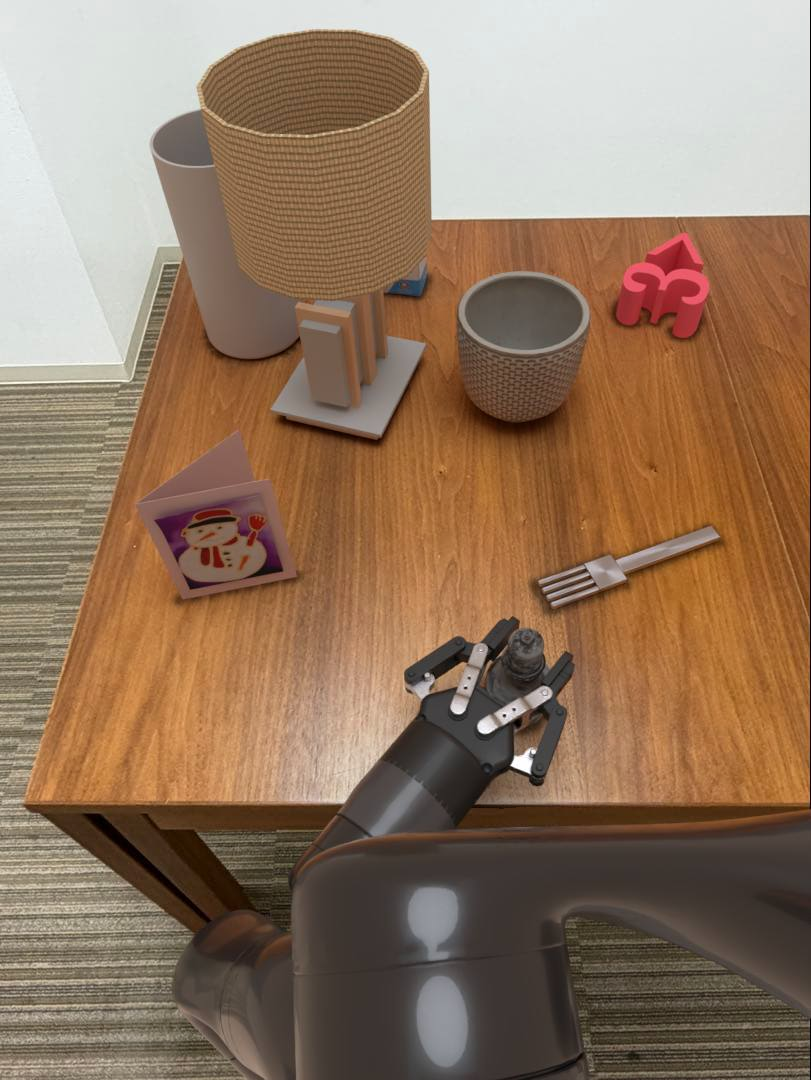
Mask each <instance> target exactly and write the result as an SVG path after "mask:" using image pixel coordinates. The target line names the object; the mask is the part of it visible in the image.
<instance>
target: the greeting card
mask: <svg viewBox="0 0 811 1080" xmlns="http://www.w3.org/2000/svg"><path fill="white" fill-rule="evenodd" d="M275 494H276V493H275V491H274V486H273V483H272V480H271V478H266V479H261V480H255V476H254V474H253V470H252V467H251V463H250V460H249V455H248V454H247V449H246V446H245V443H244V440H243V436H242V434H241V430H240V428H238V429H237V430H235V431H234V432H233V433H231V434H230V435H229V436H227V437H226V438H224V439H223V440H221V441H220V442H219V443H217V444H216V445H215V446H213V447H212V448H211V449H209V450H207V452H205V453H203V454H202V455H201V456H199V457H198V458H196V459H195V460H193V461H192V462H191V463H189V464H188V465H187V466H185V467H184V468H183V469H181V470H180V471H178V472H177V473H176V474H174V475H173V476H171V477H170V478H169V479H167V480H166V481H164V482H163V483H161V484H159V486H158V487H156V488H155V489H153V490H152V491H151V492H149V493H148V494H146V495H145V496H143V497H142V498H141V499H140V500H137V501H136V502H135V503H134V506H135V508H136V510H137V512H138V514H139V515H140V519H141V520H142V522H143V524H144V525H145V528H146V530H147V532H148V534H149V536H150V537H151V540H152V542H153V544H154V545H155V547H156V550H157V552H158V554H159V556H160V558H161V560H162V561H163V564H164V565H165V568H166V570H167V571H168V574H169V576H170V577H171V579H172V582H173V583H174V585H175V587H176V589H177V592H178V594H179V595H180V598H181V599H182V600H189V599H193V598H198V597H204V596H208V595H214V594H218V593H224V592H229V591H233V590H238V589H244V588H247V587H248V588H249V587H253V586H257V585H263V584H264V585H265V584H268V583H272V582H279V581H283V580H288V579H293V578H294V579H295V578H297V577H298V575H297V571H296V568H295V564H294V560H293V557H292V553H291V550H290V545H289V542H288V539H287V535H286V532H285V528H284V524H283V520H282V517H281V511H280V509H279V506H278V502H277V498H276V495H275Z"/></svg>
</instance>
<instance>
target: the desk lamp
mask: <svg viewBox="0 0 811 1080" xmlns="http://www.w3.org/2000/svg"><path fill="white" fill-rule="evenodd" d="M195 88H196V92H197V98H198V102H199V106H200V109H201V111H202V115H203V119H204V123H205V128H206V132H207V136H208V140H209V144H210V148H211V152H212V156H213V161H214V165H215V169H216V173H217V177H218V181H219V185H220V189H221V194H222V198H223V202H224V206H225V210H226V214H227V218H228V222H229V227H230V231H231V235H232V239H233V243H234V247H235V251H236V255H237V260H238V264H239V268H240V269H241V270H242V271H243V272H244V273H245V274H246V275H247V276H248V277H250V278H251V279H252V280H253V281H254V282H255V283H256V284H257V285H258V286H259V287H261V288H264V289H267V290H270V291H272V292H275V293H278V294H281V295H284V296H286V297H289V298H292V299H301V300H305V301H306V300H307V301H310V300H311V302H312V304H311V303H307V302H303V301H302V302H298V303H297V305H296V306H295V312H296V318H297V323H298V329H299V334H300V336H299V339H300V344H301V349H302V355H303V357H302V358H301V359H300V361H299V363H298V364H297V366H296V368H295V369H294V371H293V372H292V374H291V376H290V378H289V379H288V380H287V382H286V383H285V386H284V387H283V388H282V390H281V392H280V393H279V395H278V397H276V399H275V401H274V403H273V404H272V406H271V408H270V413H271V414H276V415H279V416H282V417H283V416H284V417H285V419H286V420H287V421H288V420H289V421H294V422H298V423H301V424H306V425H310V426H315V427H319V428H323V429H327V430H332V431H337V432H340V433H345V434H350V435H353V436H359V437H362V438H367V439H370V440H374V441H378V439H381V438H382V437H383V434H384V432H385V431H386V429H387V427H388V425H389V422H390V421H391V419H392V417H393V414H394V413H395V410H396V409H397V407H398V405H399V403H400V401H401V399H402V397H403V395H404V393H405V390H406V389H407V387H408V385H409V383H410V381H411V379H412V377H413V375H414V372H415V371H416V369H417V367H418V364H419V363H420V361H421V359H422V357H423V354H424V353H425V350H426V349H427V346H428V344H427V342H423V341H421V342H420V341H417V340H411V339H407V338H401V337H397V336H391V335H387V334H388V333H387V322H386V309H385V308H386V307H385V297H384V296H385V295H384V294H385V293H383V288H385V287H387V286H389V285H391V284H393V283H395V282H397V281H399V280H401V279H403V278H405V277H407V276H408V275H409V274H410V273H411V272H412V271H413V270H414V269H415V267H416V266H417V265H418V264H419V263H420V262H421V261H422V260H423V259H424V258H425V257H426V258H427V256H428V253H429V252H428V251H429V248H430V243H431V238H432V233H433V228H432V227H433V224H432V220H433V219H432V171H431V170H432V169H431V168H432V167H431V165H432V164H431V163H432V162H431V161H432V160H431V112H430V110H431V107H430V105H431V104H430V70H429V68H428V67H427V64H426V63H425V61H424V59H423V58H422V57H421V55H420V53H419V52H418V51H417V50H416V49H414V48H412V47H410V46H408V45H406V44H404V43H403V42H401V41H399V40H397V39H395V38H393V37H391V36H387V35H381V34H377V33H372V32H368V31H363V30H357V29H334V28H333V29H331V28H330V29H328V28H327V29H326V28H322V29H321V28H313V29H307V30H301V31H300V30H299V31H294V32H286V33H280V34H273V35H270V36H268V37H267V36H266V37H265V38H262V39H259V40H255V41H253V42H250V43H248V44H244V45H242V46H238V47H236V48H234V49H233V50H231V51H230V52H228V53H227V54H225V55H224V56H222V57H220V58H219V59H218V60H216V61H214V62H213V63H211V64H210V65H209V66H208V67H207V69H206V70H205V72H204V74H203V75H202V76H201V78H200V80H199V81H198V83H197V85H196V87H195Z"/></svg>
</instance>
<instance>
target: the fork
mask: <svg viewBox="0 0 811 1080" xmlns="http://www.w3.org/2000/svg"><path fill="white" fill-rule="evenodd" d="M720 539H721V536H720V535H719V534H718V532H717V531H716V529H714V527H713V526H712V525H709V526H706V527H703V528H700V529H698V530H695V531H692V532H689V533H687V534H684V535H681V536H679V537H676V538H672V539H669V540H666V541H665V542H662V543H659V544H656V545H653V546H650V547H648V548H645V549H642V550H639V551H637V552H634V553H631V554H629V555H626V556H623V557H620V558H617V559H615V558H614V557H613V556H612V554H607V555H604V556H602V557H599V558H596V559H592V560H591V561H588V562H585V563H583V564H581V565H578V566H575V567H572V568H569V569H567V570H564V571H561V572H558V573H556V574H553V575H550V576H548V577H545V578H541V579H539V580H537V584H536V585H537V586H538V588H541V593H542V595H545V600H546V601H547V603H550V604H549V606H550V608H551V610H555V609H558V608H560V607H563V606H567V605H569V604H572V603H574V602H577V601H580V600H583V599H585V598H589V597H591V596H593V595H596V594H599V593H602V592H604V591H608V590H609V589H612V588H615V587H617V586H621V585H623V584H627V581H628V577H627V575H629V574H631V573H634V572H638V571H640V570H643V569H645V568H648V567H650V566H654V565H657V564H659V563H662V562H664V561H668V560H670V559H673V558H676V557H679V556H681V555H683V554H687V553H688V552H692V551H695V550H697V549H700V548H703V547H706V546H709V545H711V544H714V543H717V542H719V540H720Z"/></svg>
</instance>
